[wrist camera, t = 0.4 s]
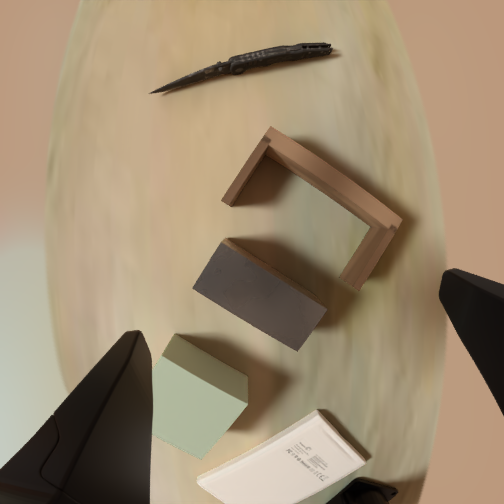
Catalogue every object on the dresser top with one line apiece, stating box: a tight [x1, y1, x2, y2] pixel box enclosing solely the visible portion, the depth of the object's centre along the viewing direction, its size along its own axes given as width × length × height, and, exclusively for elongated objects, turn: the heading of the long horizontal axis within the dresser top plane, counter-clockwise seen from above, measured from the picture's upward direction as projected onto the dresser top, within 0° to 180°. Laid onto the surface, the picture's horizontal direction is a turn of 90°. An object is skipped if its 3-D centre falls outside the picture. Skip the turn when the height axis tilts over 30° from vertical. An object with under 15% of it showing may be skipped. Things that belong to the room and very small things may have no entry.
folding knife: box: [149, 43, 333, 94], centre depth 19 cm, size 13×1×2 cm, turn 106°
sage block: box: [152, 334, 248, 460], centre depth 20 cm, size 6×6×4 cm
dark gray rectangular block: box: [193, 238, 328, 352], centre depth 19 cm, size 7×3×4 cm, turn 57°
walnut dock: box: [221, 126, 403, 291], centre depth 19 cm, size 10×5×3 cm, turn 57°
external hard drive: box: [197, 409, 366, 504], centre depth 23 cm, size 2×8×12 cm
